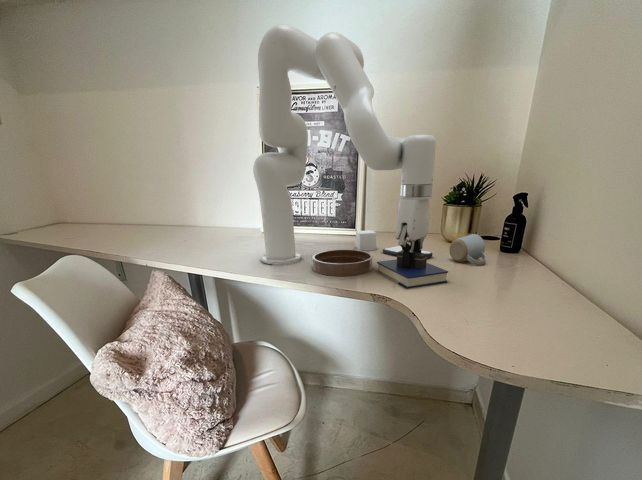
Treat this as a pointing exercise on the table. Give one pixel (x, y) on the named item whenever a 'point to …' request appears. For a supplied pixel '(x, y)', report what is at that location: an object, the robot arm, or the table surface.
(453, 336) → the table surface
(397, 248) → the phone case
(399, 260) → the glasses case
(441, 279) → the book
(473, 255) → the ceramic mug
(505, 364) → the table surface
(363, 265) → the bowl
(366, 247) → the white cube
